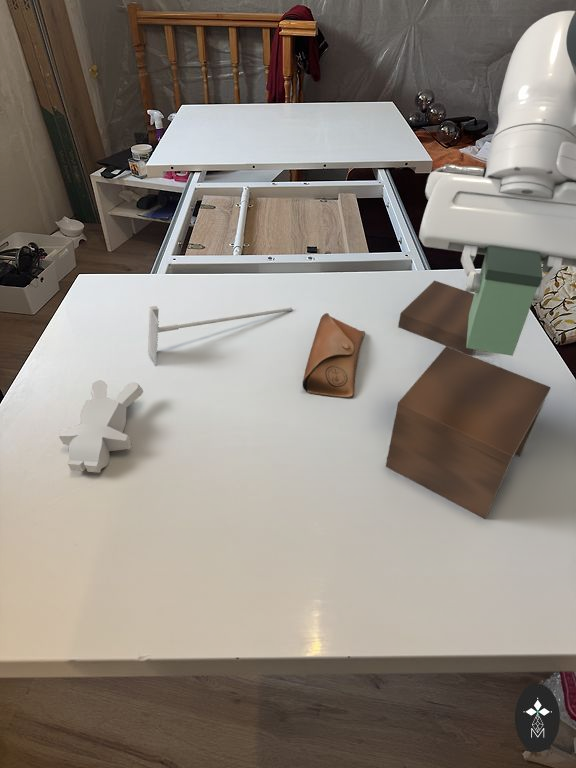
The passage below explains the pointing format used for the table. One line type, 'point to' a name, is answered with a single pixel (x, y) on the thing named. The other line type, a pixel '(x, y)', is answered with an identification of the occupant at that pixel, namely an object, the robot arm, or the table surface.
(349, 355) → the sunglasses case
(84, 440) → the white musician cutout
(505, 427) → the upper shelf
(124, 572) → the table surface
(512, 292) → the green lidded box
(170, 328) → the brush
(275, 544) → the table surface
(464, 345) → the lower shelf
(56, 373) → the table surface
